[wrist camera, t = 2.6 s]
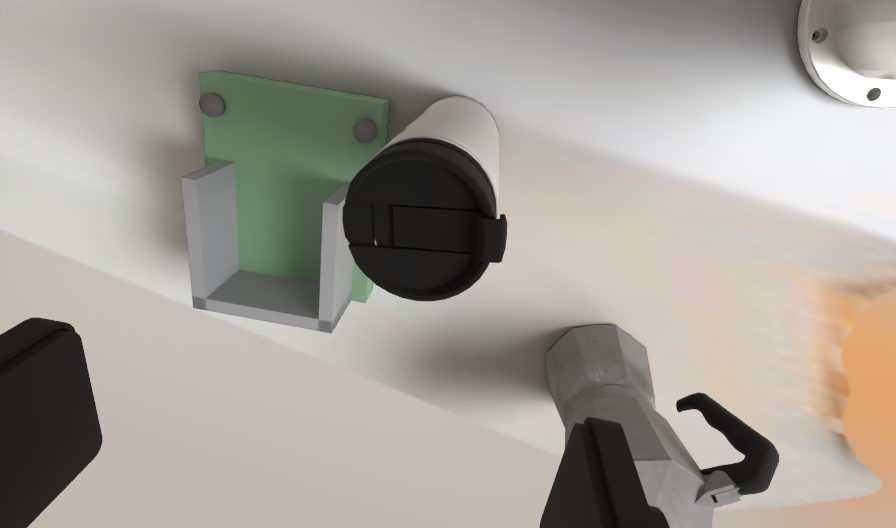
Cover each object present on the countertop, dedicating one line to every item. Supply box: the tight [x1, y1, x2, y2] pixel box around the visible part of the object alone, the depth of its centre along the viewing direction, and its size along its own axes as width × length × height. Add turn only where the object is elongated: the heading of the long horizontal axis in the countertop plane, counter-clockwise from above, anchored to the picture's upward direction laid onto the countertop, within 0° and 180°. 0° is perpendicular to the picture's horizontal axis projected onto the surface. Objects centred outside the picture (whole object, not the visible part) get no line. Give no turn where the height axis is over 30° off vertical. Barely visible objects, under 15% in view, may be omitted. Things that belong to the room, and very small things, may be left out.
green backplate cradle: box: [181, 71, 390, 333], centre depth 35 cm, size 16×13×8 cm
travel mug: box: [342, 96, 507, 301], centre depth 27 cm, size 6×7×20 cm
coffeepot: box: [545, 325, 779, 528], centre depth 35 cm, size 15×9×18 cm, turn 121°
